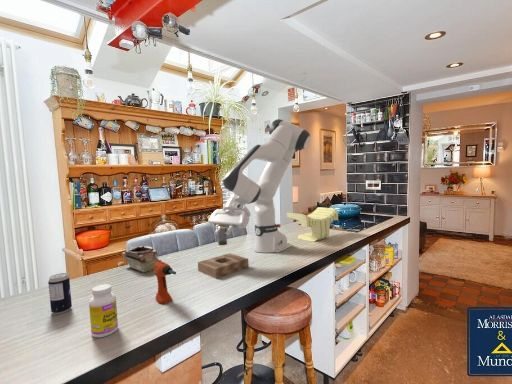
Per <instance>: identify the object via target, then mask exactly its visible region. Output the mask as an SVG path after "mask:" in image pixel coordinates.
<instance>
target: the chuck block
mask: <svg viewBox="0 0 512 384" xmlns="http://www.w3.org/2000/svg"><path fill="white" fill-rule="evenodd" d="M249 267H250V266H249V258H247V257H244V256H241V255H238V254H233V253H230V252H229V253H225V254H223V255H219V256H215V257H212V258H207V259H204V260H201V261H198V262H197V269H198V270H197V271H198V272H200V273H203V274H204V275H207V276H208V277H211V278H213V279H218V278H221V277H222V278H223V277H224V276H227V275H230V274H233V273H236V272H238V271H243V270H246V269H248V268H249Z"/></svg>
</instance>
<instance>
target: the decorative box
mask: <svg viewBox="0 0 512 384" xmlns="http://www.w3.org/2000/svg"><path fill="white" fill-rule="evenodd" d="M121 256H122V257H123V259H125V261H126V263H127V264H128V265H129V267H130V268H131V269H134V270H136V271H139V272H142V273H147V272H152V271H153V270H154V265H155V263H156V262H157V261H158V260H160V259H159V257H156V256H158V250H156V249H155V250H154V247H153V246H149V245H140V246H139V245H138V246H134V247H131V248H129V249H128V250H124V251H123V252H122V253H121Z"/></svg>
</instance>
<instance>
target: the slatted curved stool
mask: <svg viewBox="0 0 512 384" xmlns="http://www.w3.org/2000/svg"><path fill="white" fill-rule="evenodd" d="M286 217H287V218H290V219H293V220H297V221H298V222H299V223H300V225H301V227H302V228H309V227H310V229H311V232H307V233H306V232H305V233H302V234H298V235H297V239H299V240H303V241H309V242H316V241H320V240H322V239H324V240H325V239H327V238H329V236H330V228H331V223H332V222H334V221H339V213H338V210H337V209H335V208H334V207H333V208H331V207H330V208H329V207H321V206H320V207H316V209H315V210H314V211H312V212H311V213H309V214H307V215H306V214H304V213H294V212H286Z"/></svg>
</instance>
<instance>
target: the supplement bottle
mask: <svg viewBox="0 0 512 384" xmlns="http://www.w3.org/2000/svg"><path fill="white" fill-rule="evenodd" d="M91 290H92V291H91V292H92V295H93V296H92V297H90V299H89V301H88V307H89V318H90V319H89V320H90V332H91V335H92V336H93V337H95V338H104V337H108V336H110V335H113V334H114V333H115V332H116V331H118V328H119V324H118V323H119V322H118V310H117V308H118V307H117V296H116V294H115V293H113V292H112V290H113V289H112V285H111V284H109V283H105V284H104V283H103V284H99V285H96V286H94V287H93V288H92V289H91Z"/></svg>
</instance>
